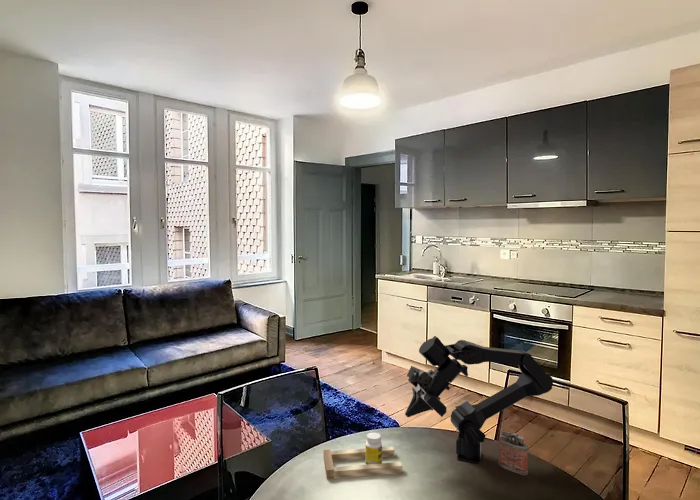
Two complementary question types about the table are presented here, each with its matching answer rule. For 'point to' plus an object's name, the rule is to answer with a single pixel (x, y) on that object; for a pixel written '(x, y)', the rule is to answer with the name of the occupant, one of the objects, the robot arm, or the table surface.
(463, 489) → the table surface
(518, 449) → the lighter
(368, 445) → the supplement bottle
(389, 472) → the cradle
